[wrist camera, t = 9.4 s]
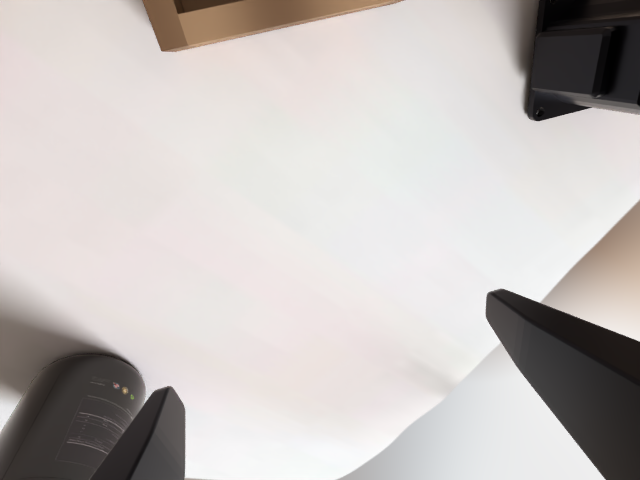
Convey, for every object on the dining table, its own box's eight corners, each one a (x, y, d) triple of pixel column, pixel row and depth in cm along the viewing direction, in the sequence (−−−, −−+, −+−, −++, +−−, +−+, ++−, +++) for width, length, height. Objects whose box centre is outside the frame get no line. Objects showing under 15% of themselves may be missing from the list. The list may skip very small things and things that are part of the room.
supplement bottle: (95, 432, 26) (-4, 687, 15) (9, 385, 22) (-192, 672, 12) (170, 387, 25) (121, 622, 15) (94, 332, 22) (-40, 586, 11)
